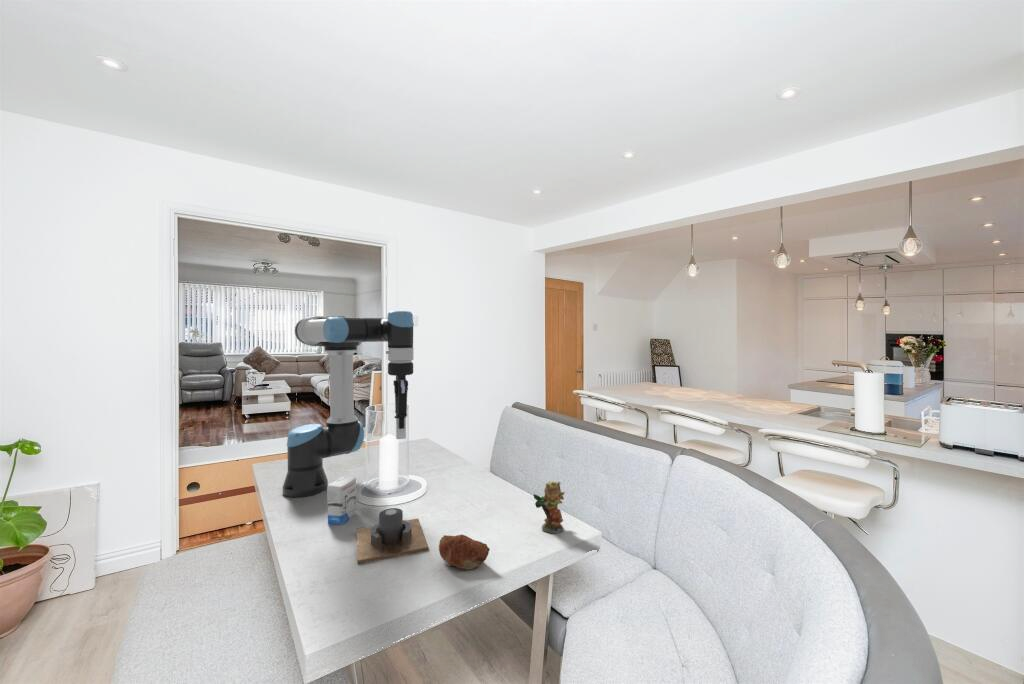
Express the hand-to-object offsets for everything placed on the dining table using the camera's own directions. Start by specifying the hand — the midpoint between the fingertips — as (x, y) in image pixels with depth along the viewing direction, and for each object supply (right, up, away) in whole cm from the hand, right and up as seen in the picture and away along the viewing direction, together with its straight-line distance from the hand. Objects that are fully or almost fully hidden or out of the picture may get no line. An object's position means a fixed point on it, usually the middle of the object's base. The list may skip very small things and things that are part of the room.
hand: (400, 438), depth 127 cm
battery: (0, -26, -10) cm, 28 cm away
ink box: (-20, -26, +4) cm, 33 cm away
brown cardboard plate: (0, -27, -10) cm, 29 cm away
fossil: (+21, -28, -21) cm, 41 cm away
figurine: (+45, -27, -3) cm, 53 cm away
